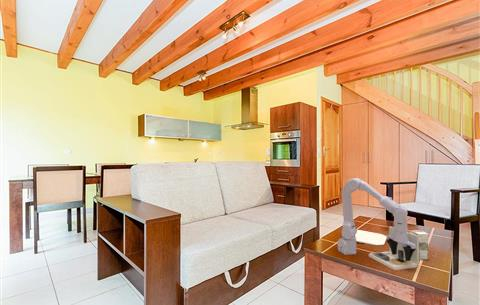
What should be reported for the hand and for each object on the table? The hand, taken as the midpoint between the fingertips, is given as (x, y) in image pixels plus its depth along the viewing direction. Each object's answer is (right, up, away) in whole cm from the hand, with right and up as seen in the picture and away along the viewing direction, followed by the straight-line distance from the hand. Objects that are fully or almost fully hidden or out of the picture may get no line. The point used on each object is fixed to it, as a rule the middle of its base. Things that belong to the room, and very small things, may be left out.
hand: (400, 257), depth 117 cm
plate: (+3, -6, +40) cm, 41 cm away
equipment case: (-2, -5, +3) cm, 6 cm away
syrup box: (+18, -5, +10) cm, 21 cm away
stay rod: (0, -4, 0) cm, 4 cm away
